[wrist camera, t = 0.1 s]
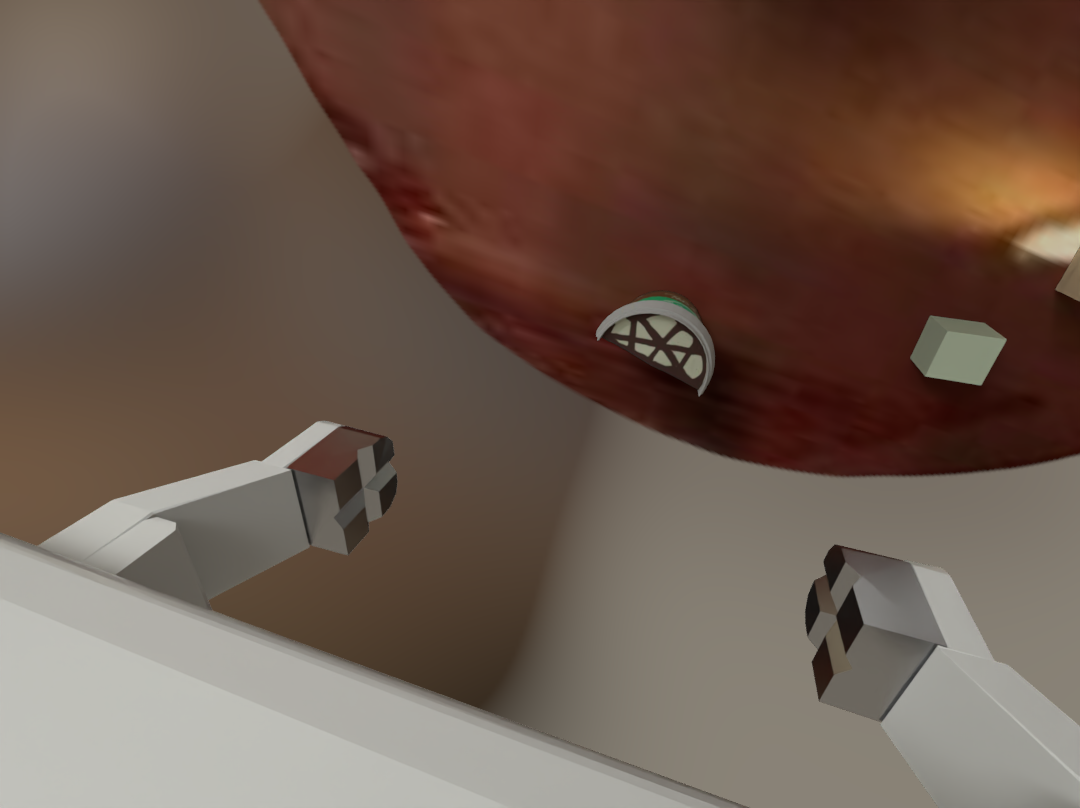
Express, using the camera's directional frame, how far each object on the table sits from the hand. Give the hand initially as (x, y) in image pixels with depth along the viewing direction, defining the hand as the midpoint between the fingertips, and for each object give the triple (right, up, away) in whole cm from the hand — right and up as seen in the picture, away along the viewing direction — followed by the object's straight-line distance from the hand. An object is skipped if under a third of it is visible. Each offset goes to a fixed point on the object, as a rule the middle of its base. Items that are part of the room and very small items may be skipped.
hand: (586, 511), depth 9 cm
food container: (+14, +12, +46) cm, 50 cm away
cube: (+39, +8, +39) cm, 56 cm away
